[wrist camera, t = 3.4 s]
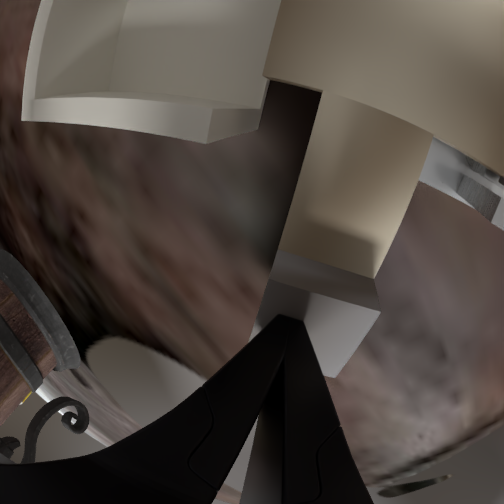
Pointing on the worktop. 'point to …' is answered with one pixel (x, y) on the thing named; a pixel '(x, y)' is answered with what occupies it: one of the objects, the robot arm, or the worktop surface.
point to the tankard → (31, 354)
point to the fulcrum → (464, 180)
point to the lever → (373, 143)
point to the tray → (151, 65)
